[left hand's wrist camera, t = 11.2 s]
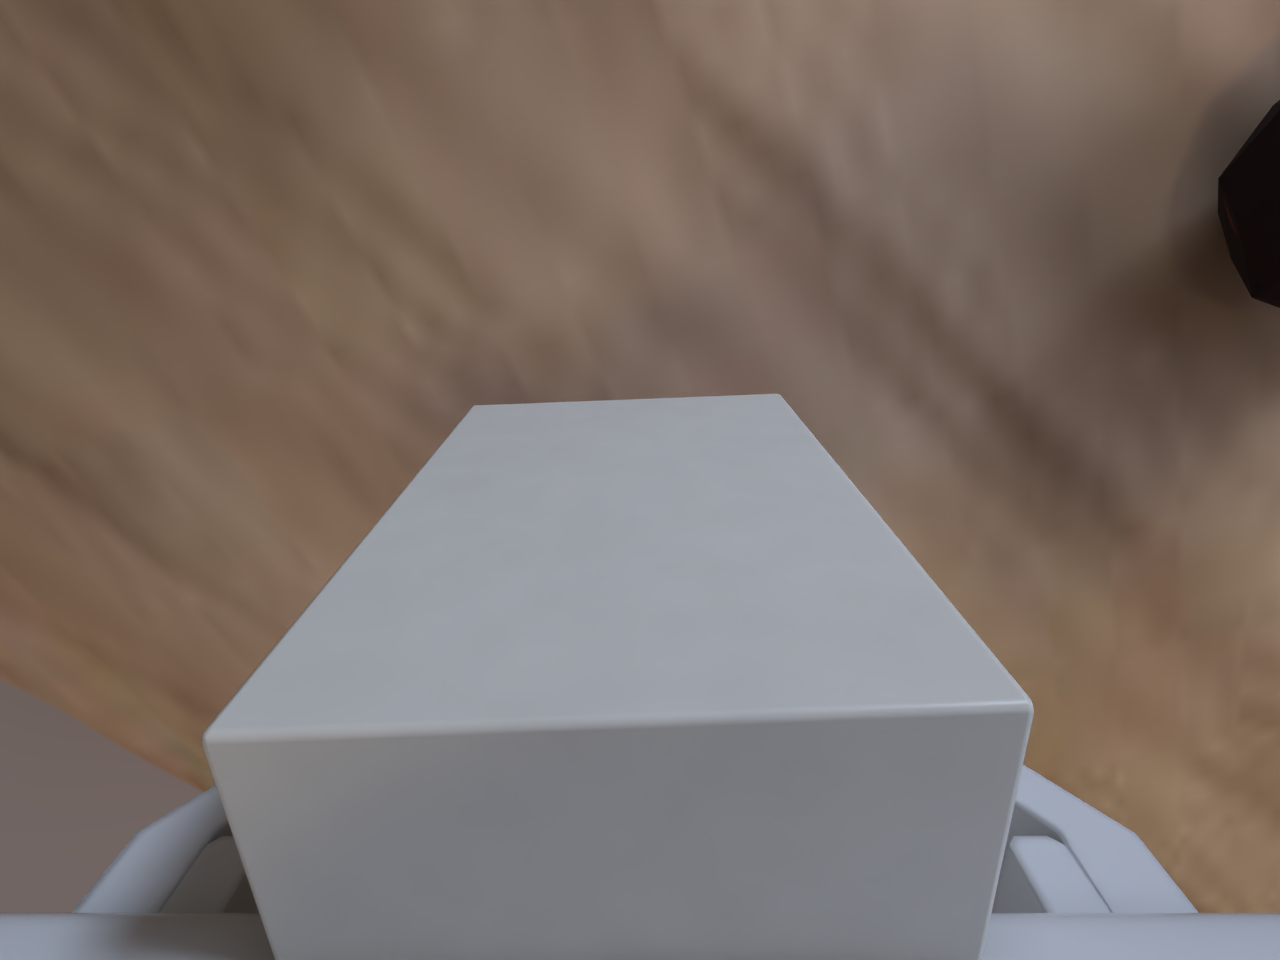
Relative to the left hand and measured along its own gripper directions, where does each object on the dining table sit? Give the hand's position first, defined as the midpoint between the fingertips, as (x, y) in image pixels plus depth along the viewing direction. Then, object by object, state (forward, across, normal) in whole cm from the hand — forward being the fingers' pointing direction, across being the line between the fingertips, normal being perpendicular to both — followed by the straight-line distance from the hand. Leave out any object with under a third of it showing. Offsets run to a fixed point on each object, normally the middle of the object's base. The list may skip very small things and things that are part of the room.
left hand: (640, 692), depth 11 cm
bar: (+3, 0, -8) cm, 8 cm away
